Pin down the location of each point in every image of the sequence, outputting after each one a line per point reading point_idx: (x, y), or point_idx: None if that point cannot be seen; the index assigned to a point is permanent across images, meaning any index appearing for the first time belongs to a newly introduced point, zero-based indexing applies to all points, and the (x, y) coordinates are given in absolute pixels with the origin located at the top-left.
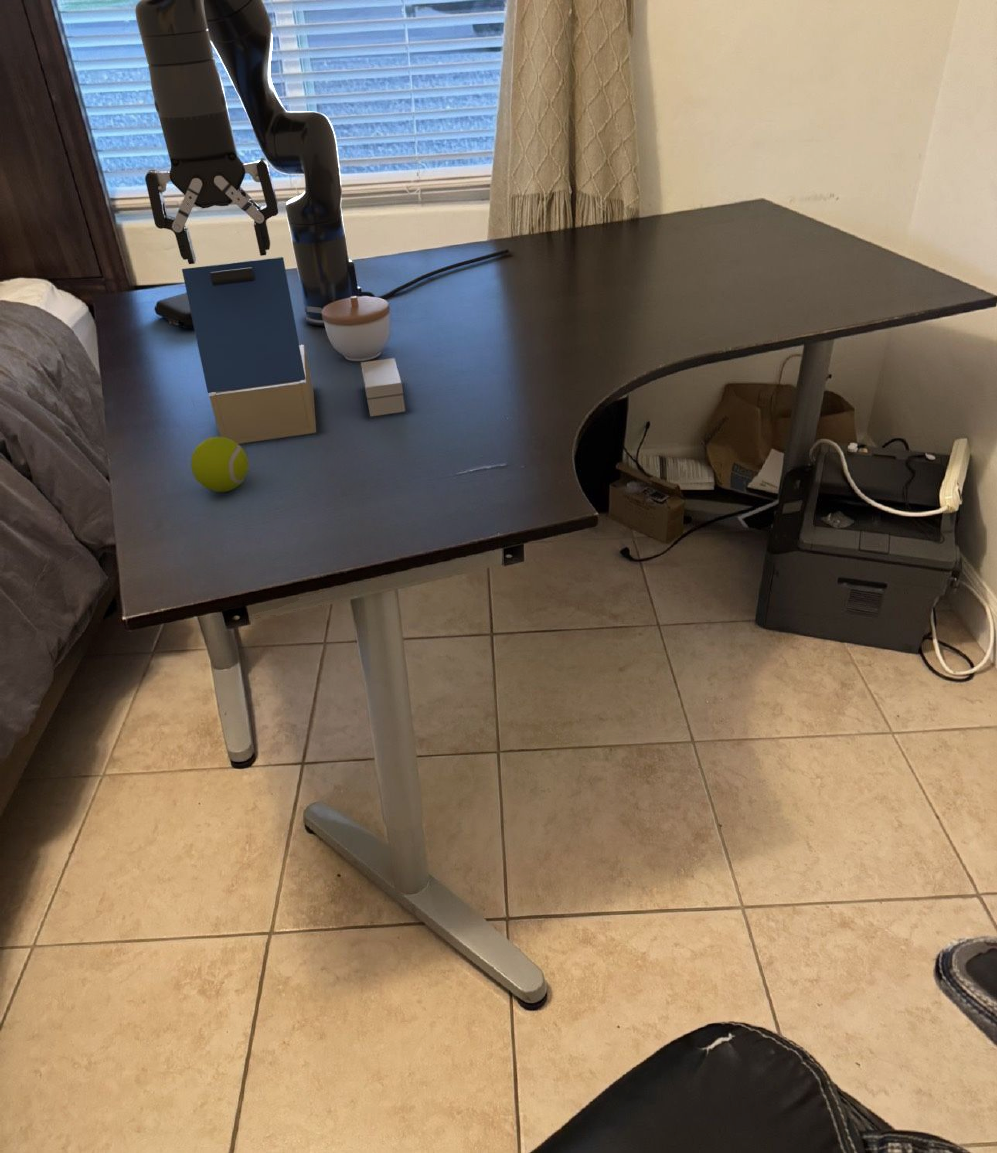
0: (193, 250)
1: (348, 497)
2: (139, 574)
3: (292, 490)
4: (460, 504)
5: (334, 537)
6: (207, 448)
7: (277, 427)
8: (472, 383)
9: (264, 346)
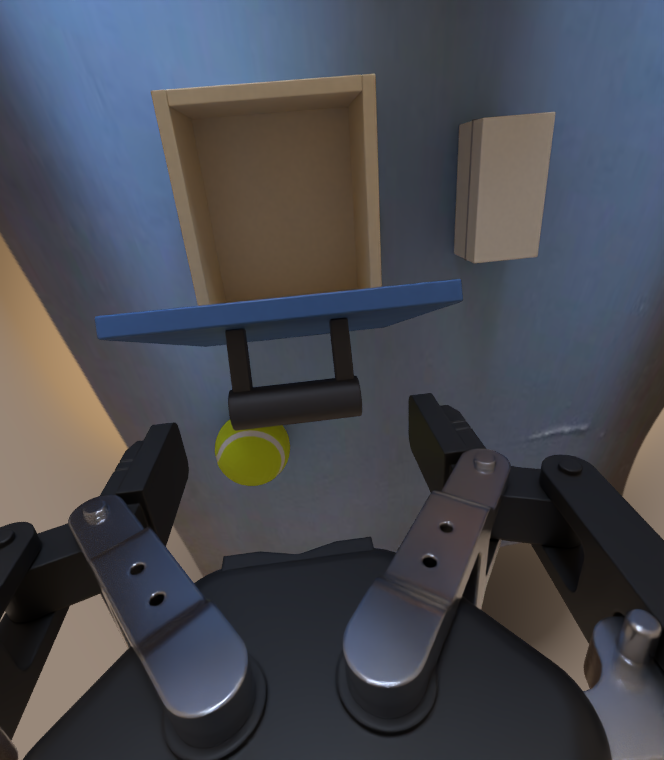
0: (169, 443)
1: (404, 466)
2: (204, 560)
3: (339, 443)
4: None
5: (387, 528)
6: (245, 482)
7: None
8: (650, 149)
9: (326, 330)
